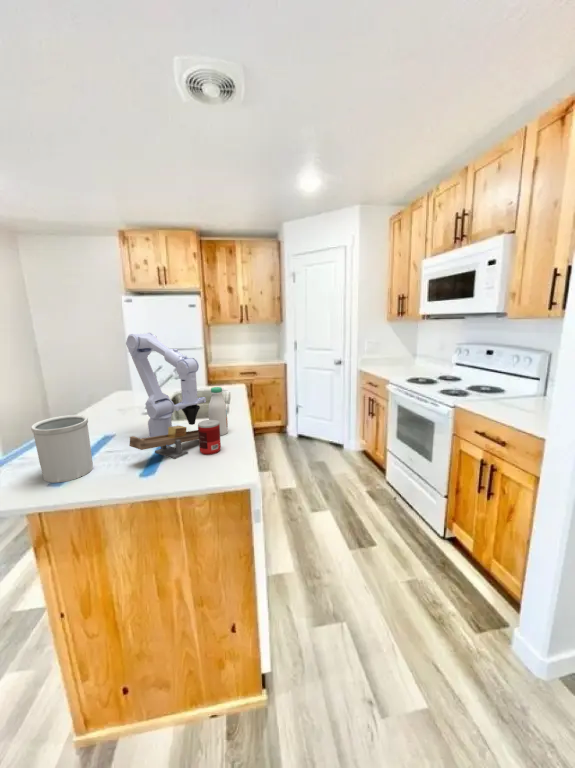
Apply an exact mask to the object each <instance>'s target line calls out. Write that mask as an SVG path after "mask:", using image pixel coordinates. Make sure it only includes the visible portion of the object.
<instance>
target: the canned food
mask: <svg viewBox="0 0 575 768" xmlns="http://www.w3.org/2000/svg"><path fill="white" fill-rule="evenodd" d="M197 430H198V434H199V440H198V446H199V452H200V453H201V454H202V455H215V454H218V453H219V452H220V451H221V448H222V446H221V435H220V425H219V421H217V420H209V419H205V420H201V421H199V422H198V423H197Z"/></svg>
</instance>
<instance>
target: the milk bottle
mask: <svg viewBox="0 0 575 768" xmlns="http://www.w3.org/2000/svg"><path fill="white" fill-rule="evenodd" d="M222 393H223V388H222V387H221V386H214V387H211V388H210V394H211V397H210V400H209V404H208V407H207V408H208V411H207V413H208V420H217V421H219V425H220V436H224V435H227V434H228V432H229V429H228V428H229V427H228V411H227V409H228V408H227V404H226V402H225V399H224V397H223V394H222Z"/></svg>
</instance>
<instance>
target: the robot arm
mask: <svg viewBox="0 0 575 768" xmlns="http://www.w3.org/2000/svg"><path fill="white" fill-rule="evenodd" d="M125 346H127V350H128V352H129V354H130V356H131V358H132V361H133V364H134V366H135V368H136V371H137V373H138V375H139V377H140V380H141V382H142V384H143V387H144V389H145V391H146V394H147V396H148V398H147V400H146V401H145V404H144V405H145V406H146V412H147V415H148V417H149V419H148V421H147V427H148V428H147V429H148V436H147V437H146V438H148V437H155V436H161V435H168V428H169V427H172V426H173V425H172V423H173V421H172V416H173V413H174V412H175V411H176V412H177V411H180V410H182V412H183V414H184V416H185V417H186V418H185V419H187V422H188V425H191V426H193V425H195V423H196V419H197V415H198V412H199V410H200V409H201V406H200V405H199V404H202V403H204V404H205V403H206V402H207V398H206V397H204V396H202V397H198V384H197V372H198V371H199V362H198V360H197V359H195V357H188V356H187V355H185V354H183V353H182V352H180V351H179V349H177V348H169V347H168V346H166V345H165V344H164V343H163V342H162V341H161V340H159V339H158V338H157V336H156V335H154V334H153V333H152V332H146V333H145V332H144V333H130V334H128V336H127V338H126V342H125ZM153 351H154V352H156V353H158V354H159V355H162V356H163V357H164V361H165V362H167V363H168V364H170V366H171V365H172V367H174V368H175V369H176V372H177V373H178V378H179V379H180V389H181V401H180V402H178V403H176V404H175V403H174V402H173V401H172V399H171V398H170V396H169V395H168V394H166V393H164V392H163V391H162V389H161V386H160V384H159V382H158V380H157V377H156V375H155V373H154V371H153V369H152V366H151V363H150V361H149V359H148V356H149V355H151V353H152V352H153Z"/></svg>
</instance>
